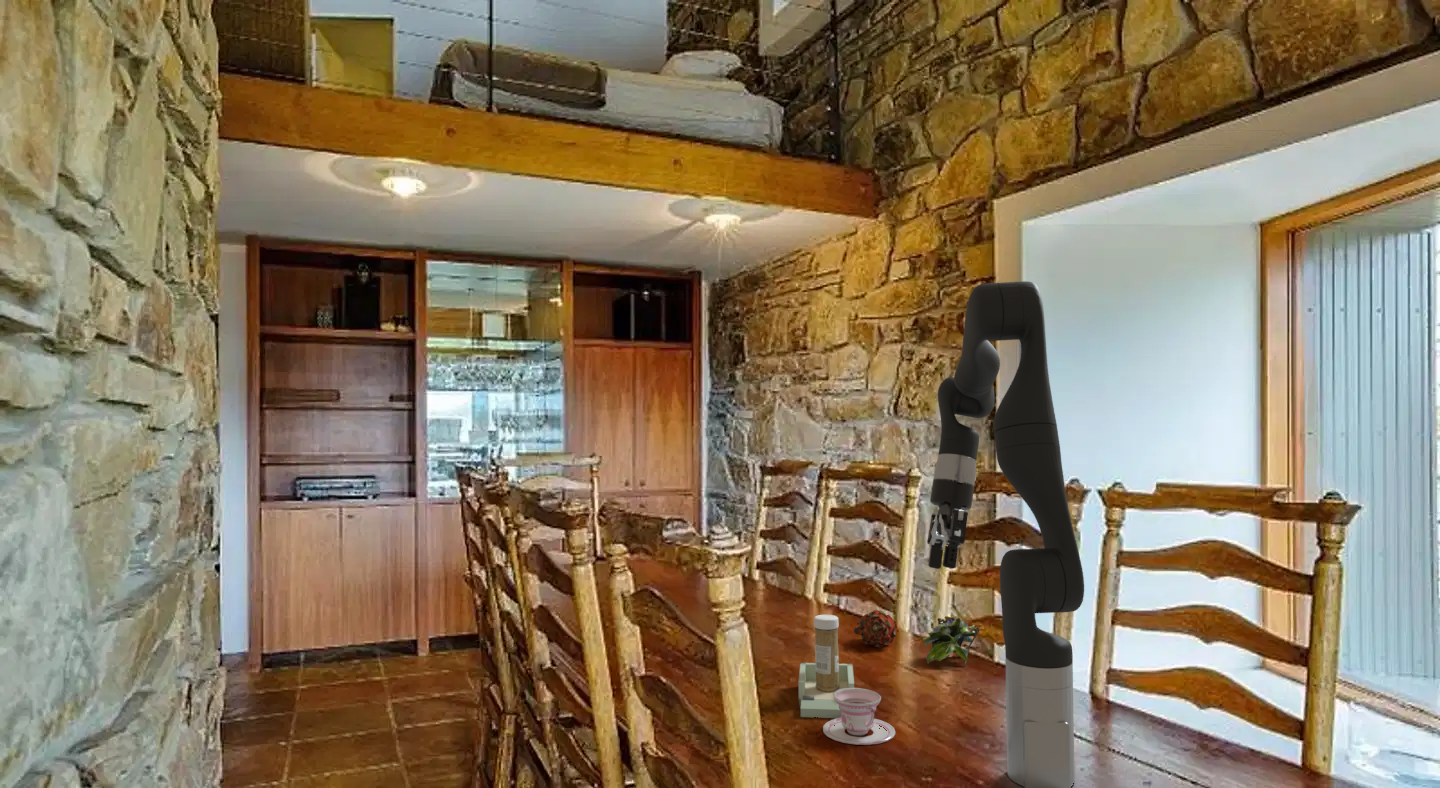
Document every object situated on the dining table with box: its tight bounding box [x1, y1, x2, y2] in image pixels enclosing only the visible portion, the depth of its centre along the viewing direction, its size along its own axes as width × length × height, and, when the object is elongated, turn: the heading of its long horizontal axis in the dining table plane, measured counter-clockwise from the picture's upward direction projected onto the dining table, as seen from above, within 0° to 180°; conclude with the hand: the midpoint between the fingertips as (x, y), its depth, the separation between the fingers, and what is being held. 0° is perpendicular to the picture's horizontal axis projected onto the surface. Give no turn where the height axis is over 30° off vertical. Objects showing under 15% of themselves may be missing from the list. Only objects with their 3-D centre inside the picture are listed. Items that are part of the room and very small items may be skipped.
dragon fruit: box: [853, 609, 897, 649], centre depth 199 cm, size 8×8×12 cm
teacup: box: [822, 687, 896, 746], centre depth 146 cm, size 12×12×6 cm
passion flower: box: [922, 616, 981, 668], centre depth 185 cm, size 11×11×12 cm
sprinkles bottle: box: [813, 614, 840, 692], centre depth 164 cm, size 5×5×14 cm
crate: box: [798, 662, 855, 719], centre depth 161 cm, size 17×10×4 cm, turn 173°
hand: (941, 567), depth 160 cm, fingers open, 8 cm apart
